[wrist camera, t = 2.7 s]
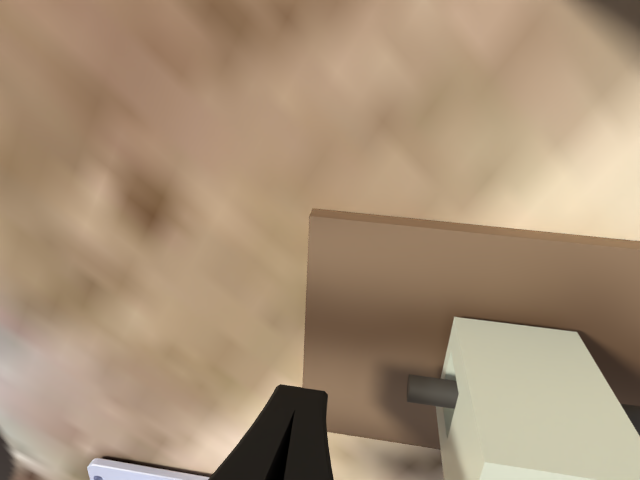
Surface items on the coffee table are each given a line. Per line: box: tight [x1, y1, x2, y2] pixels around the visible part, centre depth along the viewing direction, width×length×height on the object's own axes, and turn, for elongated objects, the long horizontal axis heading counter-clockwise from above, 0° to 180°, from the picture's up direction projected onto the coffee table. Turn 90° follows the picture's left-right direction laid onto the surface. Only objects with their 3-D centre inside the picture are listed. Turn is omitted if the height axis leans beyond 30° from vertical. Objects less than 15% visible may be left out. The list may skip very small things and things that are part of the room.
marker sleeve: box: [436, 317, 640, 480], centre depth 12 cm, size 4×4×5 cm
